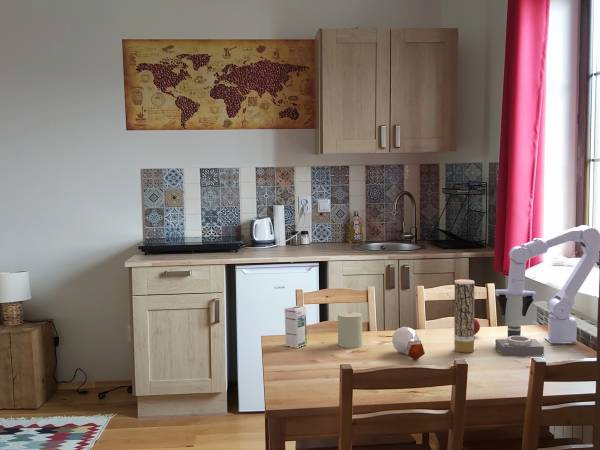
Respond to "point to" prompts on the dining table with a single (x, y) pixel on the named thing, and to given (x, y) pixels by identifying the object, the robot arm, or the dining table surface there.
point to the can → (350, 329)
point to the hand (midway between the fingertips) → (513, 315)
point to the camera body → (519, 346)
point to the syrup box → (295, 326)
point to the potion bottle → (408, 342)
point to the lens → (514, 330)
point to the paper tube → (464, 316)
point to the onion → (476, 326)
